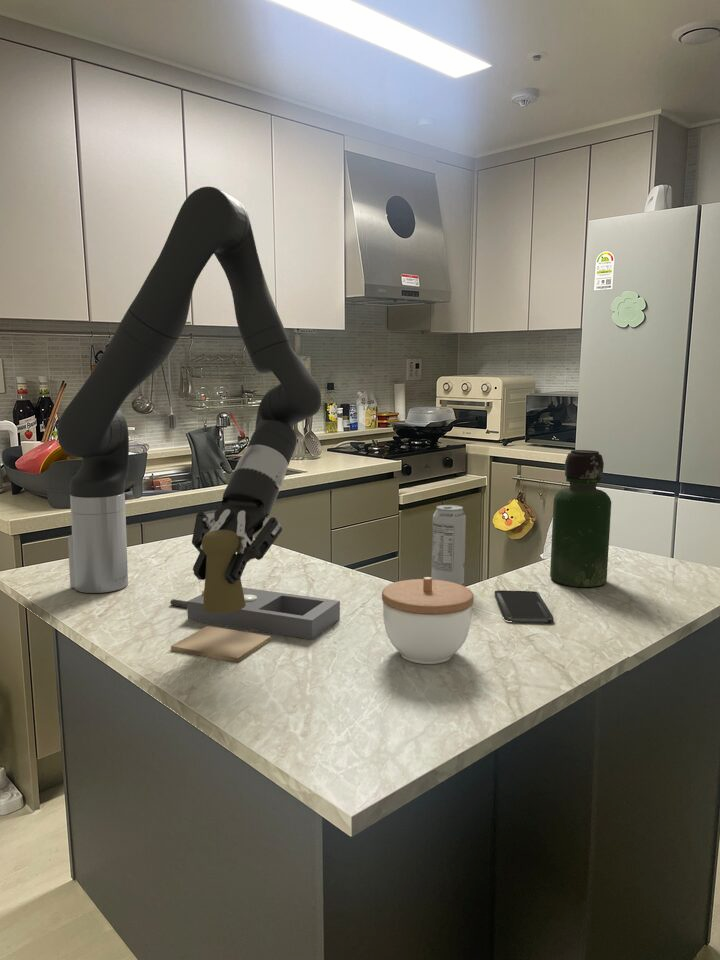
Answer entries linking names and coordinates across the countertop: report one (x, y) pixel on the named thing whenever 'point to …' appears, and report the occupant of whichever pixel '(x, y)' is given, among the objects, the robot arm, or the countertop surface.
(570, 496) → the green bottle
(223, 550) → the pepper shaker
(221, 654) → the cork pad
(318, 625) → the charging strip
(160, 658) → the countertop surface
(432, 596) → the lidded bowl
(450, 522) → the energy drink can
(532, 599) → the phone
